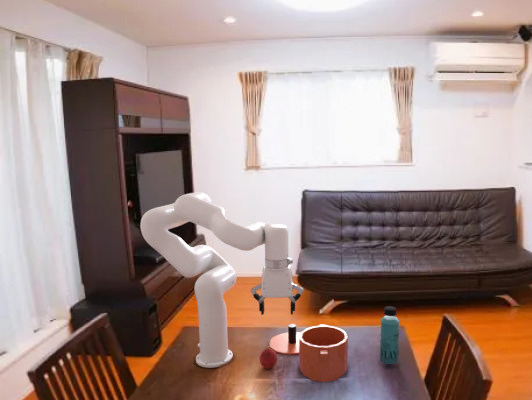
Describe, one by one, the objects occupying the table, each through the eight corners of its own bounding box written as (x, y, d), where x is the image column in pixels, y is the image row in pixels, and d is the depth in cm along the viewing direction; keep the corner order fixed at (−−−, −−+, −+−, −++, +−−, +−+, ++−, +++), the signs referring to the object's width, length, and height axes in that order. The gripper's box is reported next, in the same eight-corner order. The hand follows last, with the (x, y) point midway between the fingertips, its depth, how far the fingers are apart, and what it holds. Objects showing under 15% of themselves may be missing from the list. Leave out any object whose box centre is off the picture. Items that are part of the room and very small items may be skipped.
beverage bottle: (377, 366, 145) (378, 310, 142) (382, 357, 151) (383, 303, 148) (396, 370, 143) (397, 312, 140) (400, 360, 149) (401, 305, 146)
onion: (274, 374, 140) (273, 351, 139) (257, 372, 141) (257, 349, 140) (279, 365, 146) (279, 343, 145) (263, 363, 147) (262, 341, 146)
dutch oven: (298, 386, 133) (298, 351, 131) (300, 353, 154) (300, 322, 153) (349, 386, 133) (350, 351, 132) (344, 352, 154) (345, 322, 153)
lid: (266, 356, 152) (266, 336, 151) (271, 334, 169) (271, 316, 168) (315, 356, 152) (315, 335, 151) (315, 334, 169) (315, 315, 168)
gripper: (303, 259, 143) (303, 308, 145) (251, 259, 142) (252, 308, 145) (303, 266, 135) (303, 317, 138) (248, 266, 135) (249, 318, 137)
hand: (277, 313), depth 141 cm, fingers open, 9 cm apart
